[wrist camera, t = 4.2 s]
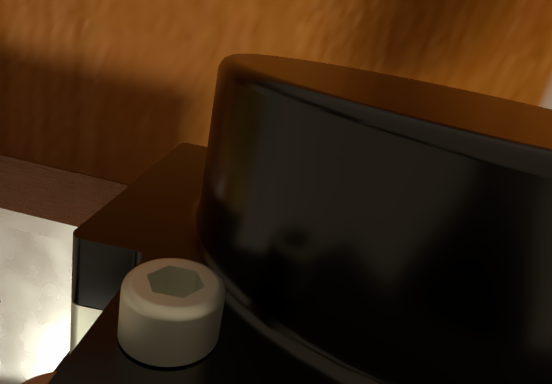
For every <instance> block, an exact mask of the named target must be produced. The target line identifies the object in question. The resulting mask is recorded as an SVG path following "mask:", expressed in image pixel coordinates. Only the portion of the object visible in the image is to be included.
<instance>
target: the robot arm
mask: <svg viewBox="0 0 552 384" xmlns="http://www.w3.org/2000/svg"><path fill="white" fill-rule="evenodd" d="M69 355H70V350H69V352H68V353H67V354H66V355H65V357H64V358H63V359H62V361H61V362H60V363H59V364H58V366H57V367H56V368H55V370H54V371H53V372H49V373H45V374H41V375H38V376H35V377H33V378H31V379H28V380H26V381H25V382H23V383H21V384H48V382H49V381H50V380H51V378H52V377H53V376H54V374H55V373H56V372H57V371H58V369H59V368H60V367H61V365H62V364H63V363H64V361H65V360H66V359H67V357H68V356H69Z"/></svg>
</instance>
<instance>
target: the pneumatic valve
mask: <svg viewBox="0 0 552 384" xmlns="http://www.w3.org/2000/svg"><path fill="white" fill-rule="evenodd" d="M48 384H552V110H551V109H547V108H543V107H538V106H534V105H530V104H525V103H521V102H516V101H512V100H507V99H503V98H498V97H494V96H489V95H485V94H480V93H476V92H471V91H466V90H462V89H457V88H452V87H447V86H443V85H438V84H433V83H428V82H423V81H418V80H413V79H408V78H403V77H398V76H393V75H387V74H382V73H377V72H372V71H366V70H361V69H355V68H349V67H344V66H338V65H332V64H326V63H320V62H314V61H307V60H300V59H293V58H286V57H278V56H269V55H259V54H234V55H230V56H227V57H225V58H224V59H223V60H222V61H221V63H220V65H219V67H218V73H217V80H216V88H215V95H214V103H213V110H212V118H211V125H210V132H209V140H208V147H204V146H199V145H194V144H189V143H182V144H180V145H179V146H177V147H176V148H175V149H174V150H172V151H171V152H170V153H169V154H168V155H166V156H165V157H164V158H163V159H161V160H160V161H159V162H158V163H156V164H155V165H154V166H153V167H152V168H150V169H149V170H148V171H147V172H145V173H144V174H143V175H142V176H140V177H139V178H138V179H137V180H136V181H134V182H133V183H132V184H131V185H129V186H128V187H127V188H126V189H124V190H123V191H122V192H121V193H120V194H118V195H117V196H116V197H115V198H113V199H112V200H111V201H110V202H108V203H107V204H106V205H105V206H104V207H102V208H101V209H100V210H99V211H97V212H96V213H95V214H94V215H92V216H91V217H90V218H89V219H88V220H86V221H85V222H84V223H83V224H81V225H80V226H79V227H78V228H76V229H75V230H74V231H73V249H72V286H71V323H70V355H69V356H68V357H67V359H66V360H65V361H64V363H63V364H62V365H61V367H60V368H59V369H58V371H57V372H56V373H55V374H54V376H53V377H52V378H51V380H50V381H49V382H48Z"/></svg>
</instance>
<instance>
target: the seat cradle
mask: <svg viewBox="0 0 552 384" xmlns="http://www.w3.org/2000/svg"><path fill="white" fill-rule="evenodd" d="M127 187H128V185H124V184H120V183H116V182H112V181H108V180H103V179H99V178H95V177H91V176H87V175H83V174H79V173H75V172H70V171H66V170H62V169H58V168H54V167H50V166H46V165H42V164H37V163H33V162H29V161H25V160H21V159H17V158H13V157H9V156H4V155H0V384H21V383H23V382H25V381H26V380H28V379H31V378H33V377H35V376H38V375H41V374H45V373H49V372H53V371H54V370H55V368H56V367H57V366H58V364H59V363H60V362H61V361H62V359H63V358H64V357H65V355H66V354H67V353H68V352H69V350H70V323H71V286H72V249H73V231H74V230H75V229H76V228H78V227H79V226H80V225H81V224H83V223H84V222H85V221H86V220H88V219H89V218H90V217H91V216H92V215H94V214H95V213H96V212H97V211H99V210H100V209H101V208H102V207H104V206H105V205H106V204H107V203H108V202H110V201H111V200H112V199H113V198H115V197H116V196H117V195H118V194H120V193H121V192H122V191H123V190H124V189H126V188H127Z"/></svg>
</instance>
